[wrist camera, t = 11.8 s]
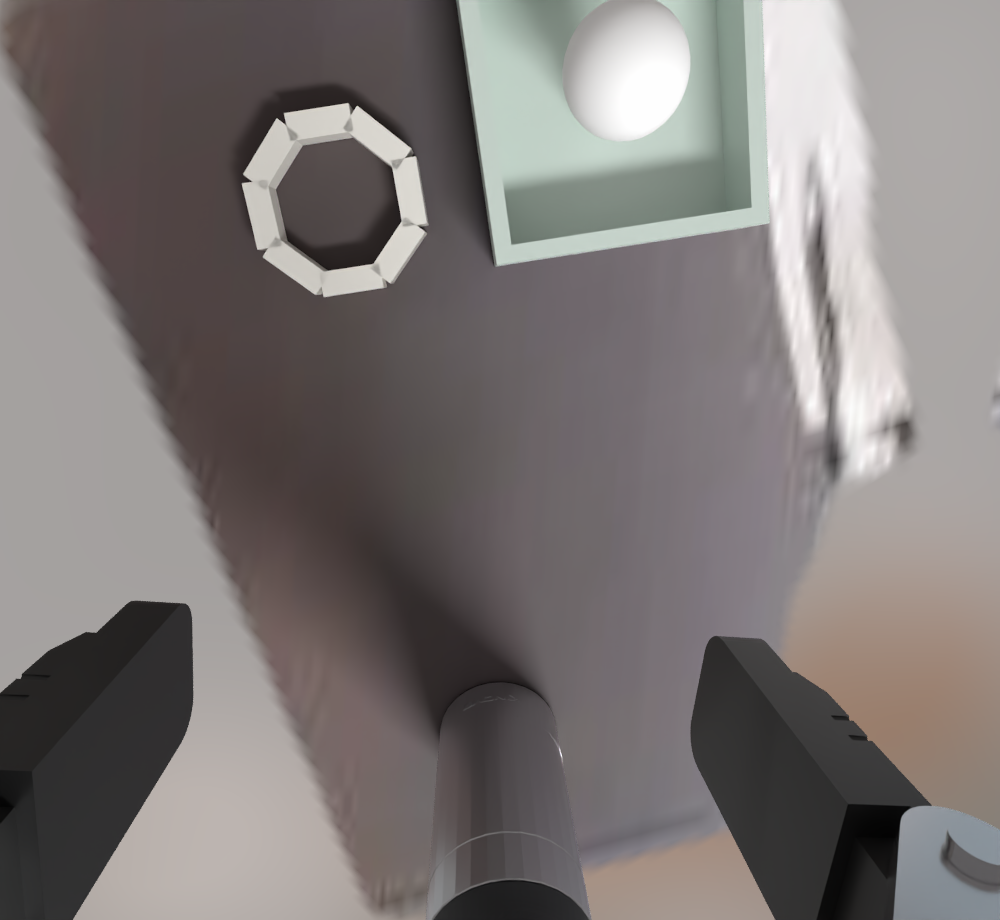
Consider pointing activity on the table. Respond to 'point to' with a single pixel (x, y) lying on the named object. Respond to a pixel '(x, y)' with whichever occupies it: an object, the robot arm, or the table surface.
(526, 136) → the bin
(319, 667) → the table surface
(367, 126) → the socket collar
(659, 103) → the lightbulb
